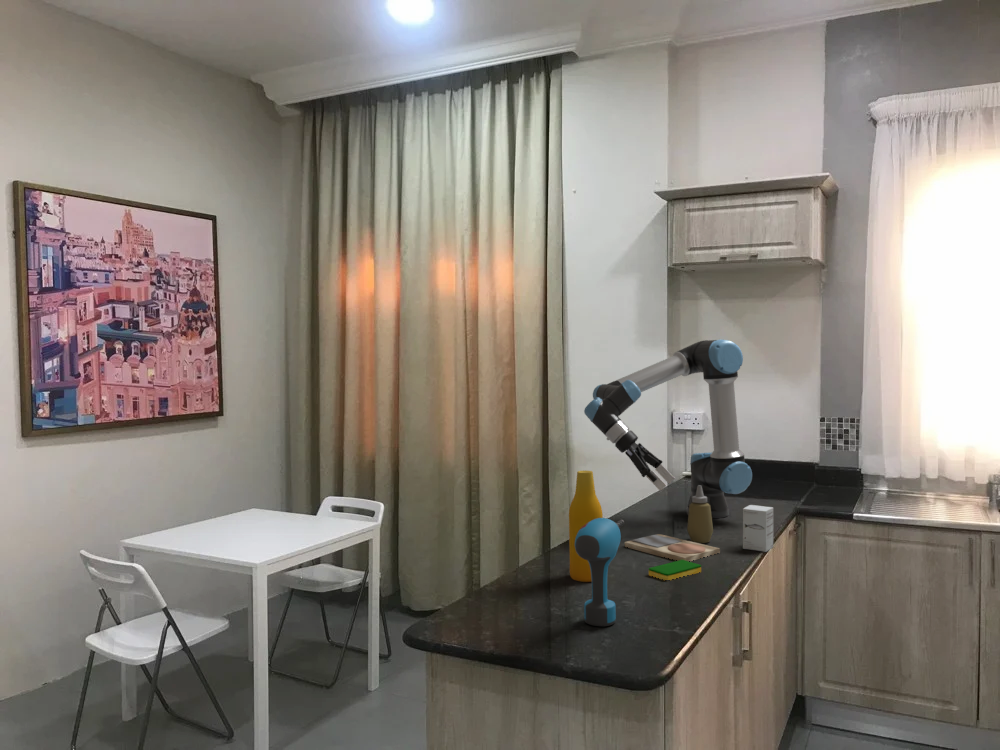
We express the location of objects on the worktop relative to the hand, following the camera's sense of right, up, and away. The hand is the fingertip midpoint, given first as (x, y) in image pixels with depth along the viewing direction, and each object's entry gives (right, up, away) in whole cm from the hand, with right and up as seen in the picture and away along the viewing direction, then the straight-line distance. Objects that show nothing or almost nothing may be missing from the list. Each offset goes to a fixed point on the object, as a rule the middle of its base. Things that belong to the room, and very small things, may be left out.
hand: (668, 484), depth 247 cm
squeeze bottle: (+10, -18, -3) cm, 21 cm away
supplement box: (+25, -18, -13) cm, 33 cm away
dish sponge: (-6, -20, -37) cm, 43 cm away
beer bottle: (-31, -20, -39) cm, 54 cm away
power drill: (-30, -21, -69) cm, 78 cm away
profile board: (-2, -18, -13) cm, 22 cm away
